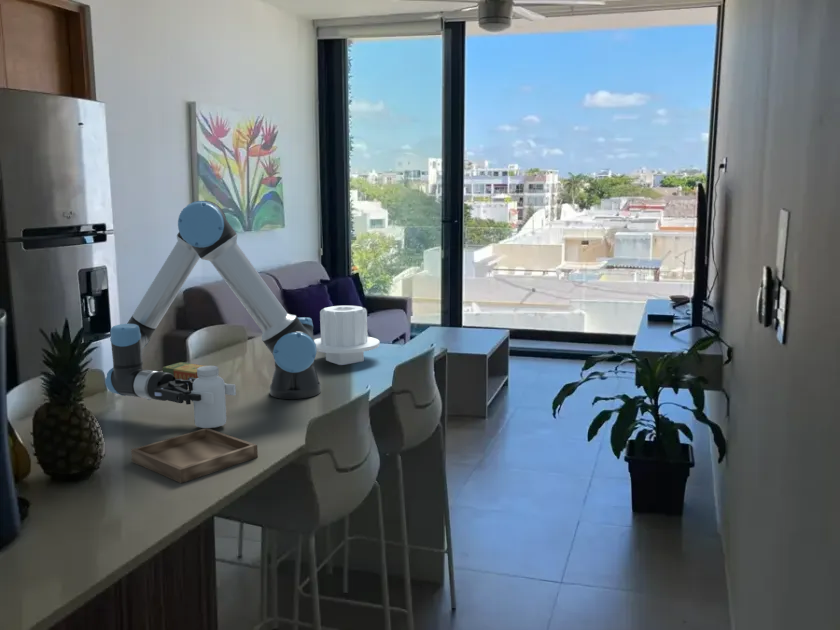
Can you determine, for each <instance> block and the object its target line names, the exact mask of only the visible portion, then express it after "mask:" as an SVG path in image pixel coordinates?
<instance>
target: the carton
mask: <svg viewBox="0 0 840 630" xmlns="http://www.w3.org/2000/svg"><path fill="white" fill-rule="evenodd" d="M202 366H205V365H204V364H202V365H201V364H195V363H190V362H189V363H187V362H183V361H181V362H176V363H172V364H170V365H166V366H163V367H162V372H167V373H171V374H172V375H173V376H174V377H175V378H176V379H182V380H188V378H190V377H192V378H199V377H198V376H197V369H198V368H199V367H202Z"/></svg>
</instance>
